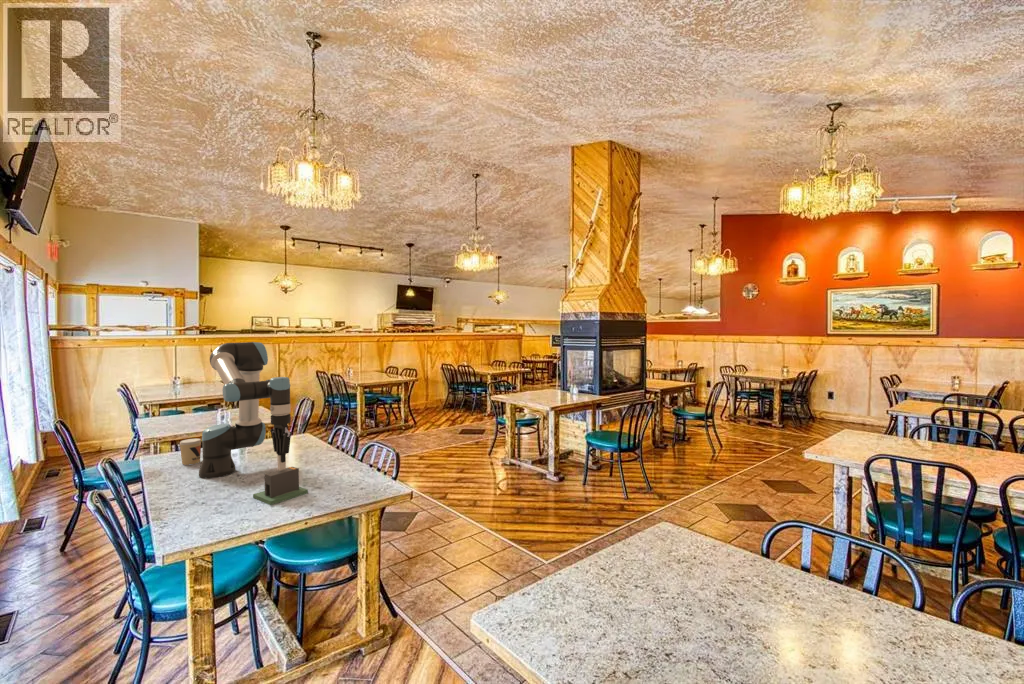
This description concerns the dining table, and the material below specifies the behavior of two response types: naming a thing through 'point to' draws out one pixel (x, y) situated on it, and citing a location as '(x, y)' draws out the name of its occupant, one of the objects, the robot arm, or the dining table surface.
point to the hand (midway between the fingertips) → (281, 469)
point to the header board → (279, 498)
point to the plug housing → (281, 481)
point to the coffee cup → (190, 451)
